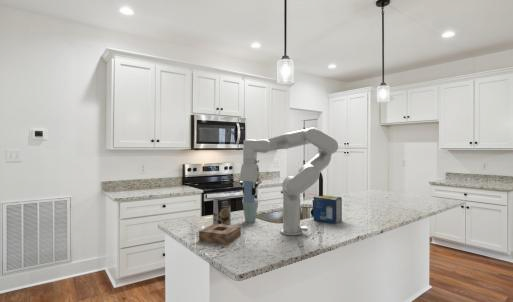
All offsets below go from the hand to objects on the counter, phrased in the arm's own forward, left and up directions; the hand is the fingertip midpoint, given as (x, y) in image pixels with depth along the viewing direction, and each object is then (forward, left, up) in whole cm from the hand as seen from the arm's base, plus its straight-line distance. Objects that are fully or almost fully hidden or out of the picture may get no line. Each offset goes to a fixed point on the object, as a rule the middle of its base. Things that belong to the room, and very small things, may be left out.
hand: (249, 194), depth 161 cm
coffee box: (+23, -10, -22) cm, 33 cm away
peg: (0, 0, -4) cm, 4 cm away
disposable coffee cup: (+10, -24, -22) cm, 34 cm away
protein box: (-36, -45, -22) cm, 62 cm away
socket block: (+11, +14, -22) cm, 28 cm away
